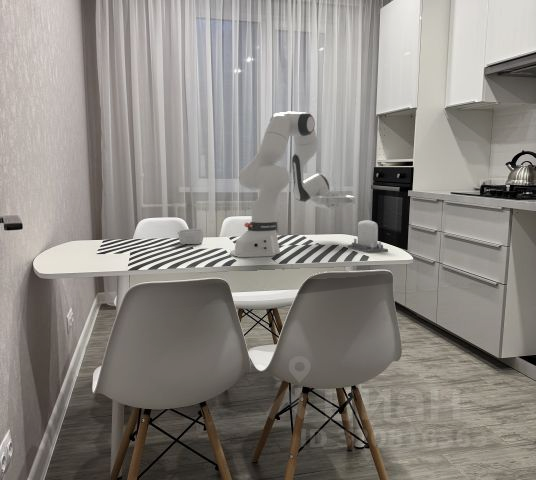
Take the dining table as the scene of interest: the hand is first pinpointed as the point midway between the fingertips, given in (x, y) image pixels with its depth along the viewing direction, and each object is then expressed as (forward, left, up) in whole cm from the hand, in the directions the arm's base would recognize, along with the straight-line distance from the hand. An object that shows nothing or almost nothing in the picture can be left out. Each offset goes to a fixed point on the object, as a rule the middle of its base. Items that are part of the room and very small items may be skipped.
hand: (343, 200), depth 229 cm
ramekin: (-68, +37, -22) cm, 80 cm away
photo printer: (+4, -16, -21) cm, 26 cm away
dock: (+3, -16, -22) cm, 27 cm away
